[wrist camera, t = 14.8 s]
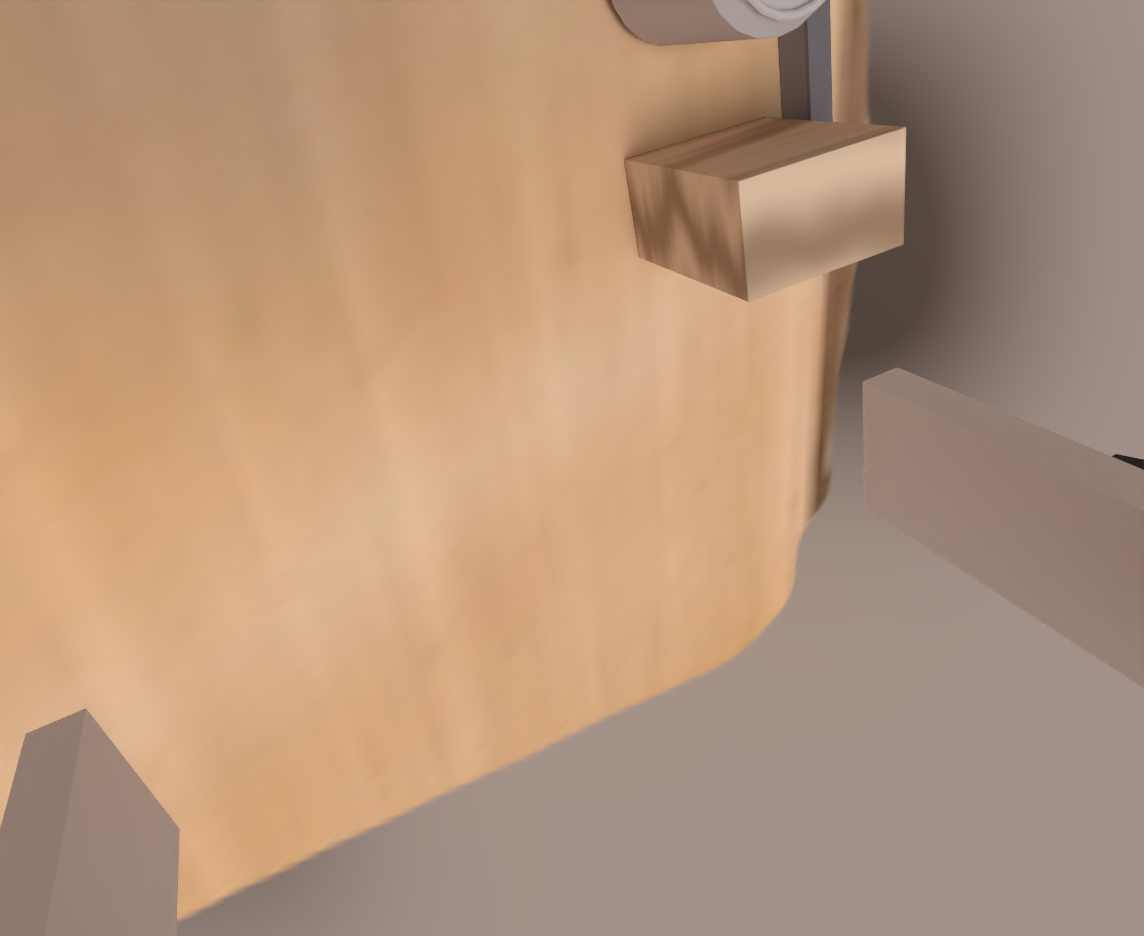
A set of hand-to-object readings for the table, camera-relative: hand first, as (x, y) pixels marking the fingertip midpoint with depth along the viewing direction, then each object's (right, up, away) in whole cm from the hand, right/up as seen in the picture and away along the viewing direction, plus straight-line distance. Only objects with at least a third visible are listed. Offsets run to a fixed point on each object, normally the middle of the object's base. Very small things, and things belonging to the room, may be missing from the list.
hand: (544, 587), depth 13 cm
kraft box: (+9, +20, +36) cm, 42 cm away
